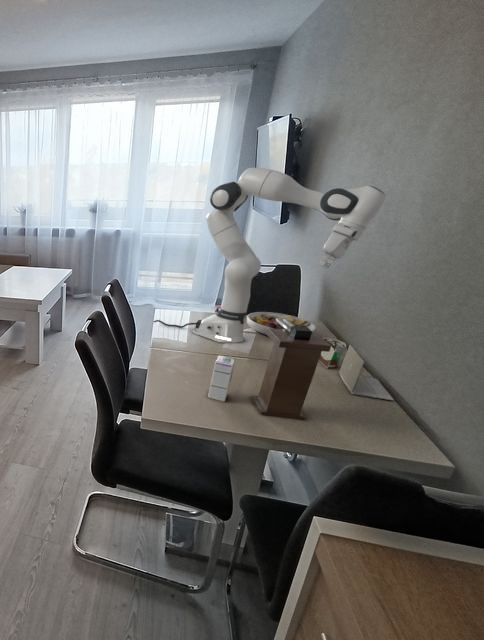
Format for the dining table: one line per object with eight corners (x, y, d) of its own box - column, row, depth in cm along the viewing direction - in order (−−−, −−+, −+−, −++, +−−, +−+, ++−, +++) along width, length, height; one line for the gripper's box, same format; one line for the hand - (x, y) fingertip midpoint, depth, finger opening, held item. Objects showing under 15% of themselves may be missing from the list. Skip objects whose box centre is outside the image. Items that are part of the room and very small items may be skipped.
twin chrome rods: (273, 320, 144) (275, 312, 143) (287, 321, 144) (289, 313, 142) (293, 339, 128) (296, 330, 127) (309, 340, 127) (312, 331, 126)
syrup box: (224, 402, 143) (234, 364, 137) (206, 397, 146) (215, 360, 140) (227, 395, 148) (236, 358, 142) (209, 390, 150) (218, 354, 145)
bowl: (244, 317, 229) (248, 303, 226) (308, 326, 217) (312, 312, 214) (245, 334, 204) (249, 319, 201) (317, 346, 193) (322, 330, 189)
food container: (345, 371, 168) (354, 349, 164) (329, 370, 169) (337, 347, 165) (331, 359, 179) (338, 337, 175) (315, 357, 180) (322, 336, 176)
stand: (248, 396, 148) (267, 328, 137) (290, 400, 145) (313, 331, 135) (259, 414, 136) (281, 341, 126) (306, 420, 134) (332, 346, 123)
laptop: (393, 401, 146) (408, 368, 141) (350, 394, 150) (363, 362, 145) (376, 380, 161) (389, 349, 156) (338, 374, 166) (349, 344, 160)
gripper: (342, 232, 164) (320, 265, 169) (333, 224, 149) (309, 260, 155) (360, 238, 160) (336, 271, 166) (352, 231, 146) (327, 267, 151)
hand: (323, 266), depth 160 cm, fingers open, 8 cm apart
